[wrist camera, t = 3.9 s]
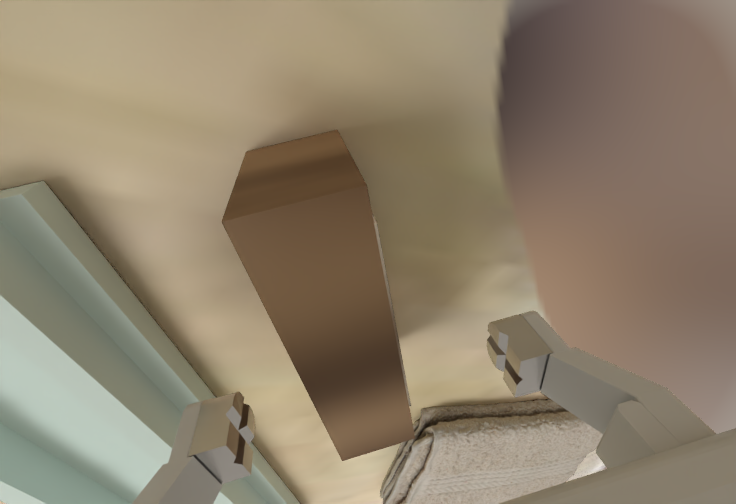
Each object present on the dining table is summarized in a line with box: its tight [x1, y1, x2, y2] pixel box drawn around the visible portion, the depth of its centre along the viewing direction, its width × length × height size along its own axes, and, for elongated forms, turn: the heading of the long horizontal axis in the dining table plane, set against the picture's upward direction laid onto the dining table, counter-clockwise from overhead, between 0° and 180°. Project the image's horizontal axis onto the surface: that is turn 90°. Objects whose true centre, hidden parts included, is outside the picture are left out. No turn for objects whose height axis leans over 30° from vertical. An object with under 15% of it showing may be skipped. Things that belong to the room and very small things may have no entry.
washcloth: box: [380, 399, 603, 504], centre depth 25 cm, size 12×18×3 cm, turn 79°
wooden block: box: [222, 130, 415, 461], centre depth 12 cm, size 11×3×5 cm, turn 10°
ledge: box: [0, 181, 300, 504], centre depth 16 cm, size 27×8×3 cm, turn 10°
